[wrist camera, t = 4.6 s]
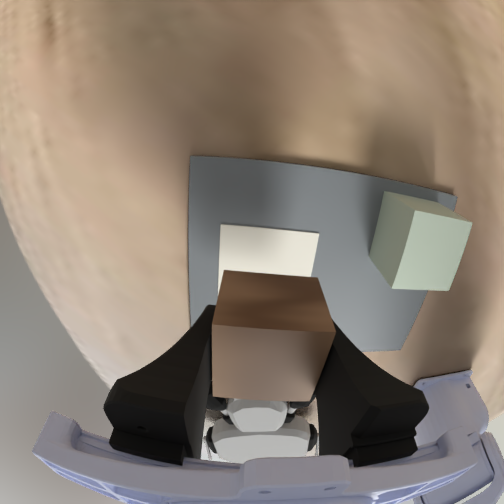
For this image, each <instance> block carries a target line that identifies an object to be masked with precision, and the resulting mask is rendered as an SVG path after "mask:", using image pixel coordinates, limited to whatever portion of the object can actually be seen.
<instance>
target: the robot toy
mask: <svg viewBox="0 0 504 504" xmlns="http://www.w3.org/2000/svg"><path fill="white" fill-rule="evenodd" d="M315 397H316V394H315V390H314V392H313V394H312V397H311V399H310V401H289V402H290V403H289V405H288V406H287V401H263V400H246V399H233V398H228V405H226V399H225V398H223V397H213V385H212V381H211V384H210V388H209V393H208V398H207V405H206V408H207V409H211V410H217V411H221V412H222V413H223V418H221V419H219V420H216V422H215V424H214V426H213V427H209V429H208V431H207V435H206V436H204V438H203V440H204V443H205V444H206V448H207V452H208V456H209V457H208V458H209V460H210V461H211V460H212V457H211V454H210V450H209V447H210V449H211V450H212V451H213V453H217V454H218V456H219V458H221V459H224V460H226V461H229V462H233V463H240V464H243V463H245V462H246V461H247V460H251V459H255V458H266V457H304V456H306V454H307V451H310V450H312V448H313V447H314V445H315V444H316V443H317V444H316V453H315V456H318V446H319V433H317V430H316V428H315V427H314V425H313V424H309V423H308V422H307V420H306V419H305V418H304V417H301V416H298V415H296V412H295V410H296V409H298V408H303V407H306V406H309V404H310V403H311V402H312V401H313V400H314V399H315Z"/></svg>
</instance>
